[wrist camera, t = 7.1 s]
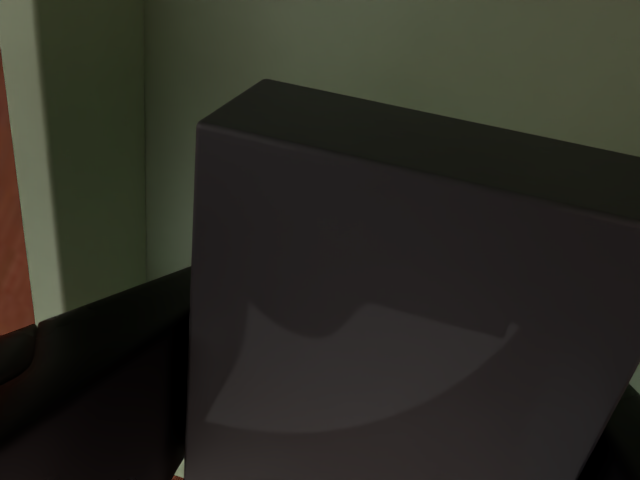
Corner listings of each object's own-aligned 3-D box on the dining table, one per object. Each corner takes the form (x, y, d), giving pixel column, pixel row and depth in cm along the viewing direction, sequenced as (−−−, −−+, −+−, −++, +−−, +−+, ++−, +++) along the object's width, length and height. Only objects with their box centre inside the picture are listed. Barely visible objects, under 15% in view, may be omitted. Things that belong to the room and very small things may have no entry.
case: (648, 480, 12) (694, 645, 9) (137, 333, 14) (47, 435, 11) (1039, -156, 7) (1425, -214, 4) (125, -265, 8) (-54, -359, 6)
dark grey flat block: (654, 158, 6) (711, 237, 4) (479, 550, 9) (475, 674, 8) (262, 77, 7) (193, 120, 5) (227, 470, 10) (178, 569, 8)
